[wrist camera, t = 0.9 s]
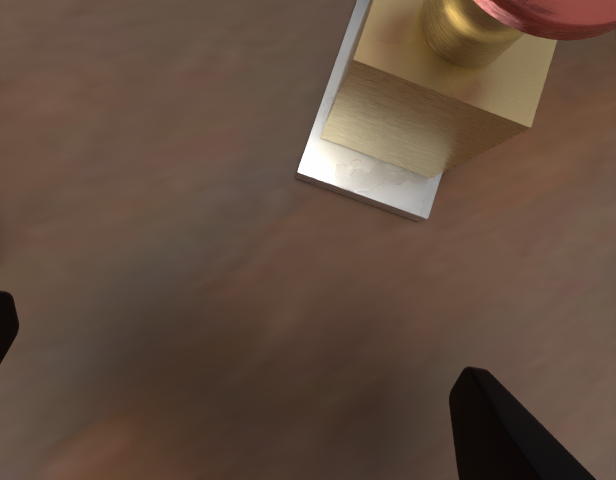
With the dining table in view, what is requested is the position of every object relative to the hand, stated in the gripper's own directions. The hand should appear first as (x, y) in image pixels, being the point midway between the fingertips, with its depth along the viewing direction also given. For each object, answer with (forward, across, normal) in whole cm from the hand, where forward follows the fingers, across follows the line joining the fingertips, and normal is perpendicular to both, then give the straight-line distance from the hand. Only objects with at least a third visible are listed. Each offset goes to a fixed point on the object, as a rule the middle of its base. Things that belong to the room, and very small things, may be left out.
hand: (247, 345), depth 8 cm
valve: (+16, -5, -3) cm, 17 cm away
